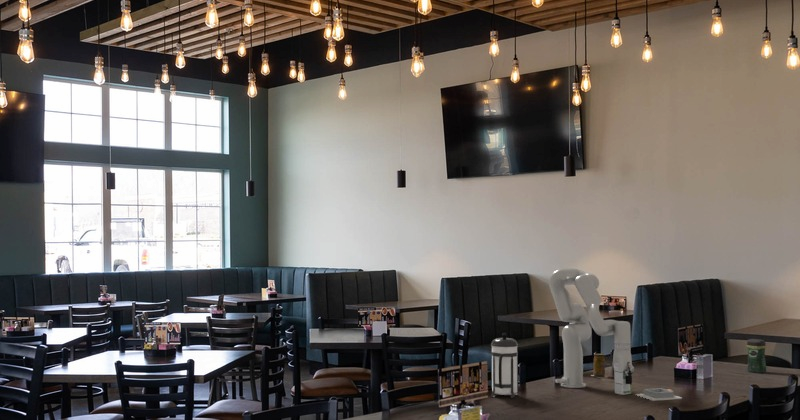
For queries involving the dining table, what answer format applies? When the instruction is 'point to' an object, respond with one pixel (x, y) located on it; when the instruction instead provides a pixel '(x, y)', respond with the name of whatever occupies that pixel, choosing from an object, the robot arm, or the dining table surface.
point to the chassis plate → (658, 394)
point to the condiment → (599, 366)
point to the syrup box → (621, 382)
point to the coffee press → (504, 366)
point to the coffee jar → (756, 355)
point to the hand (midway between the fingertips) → (623, 382)
